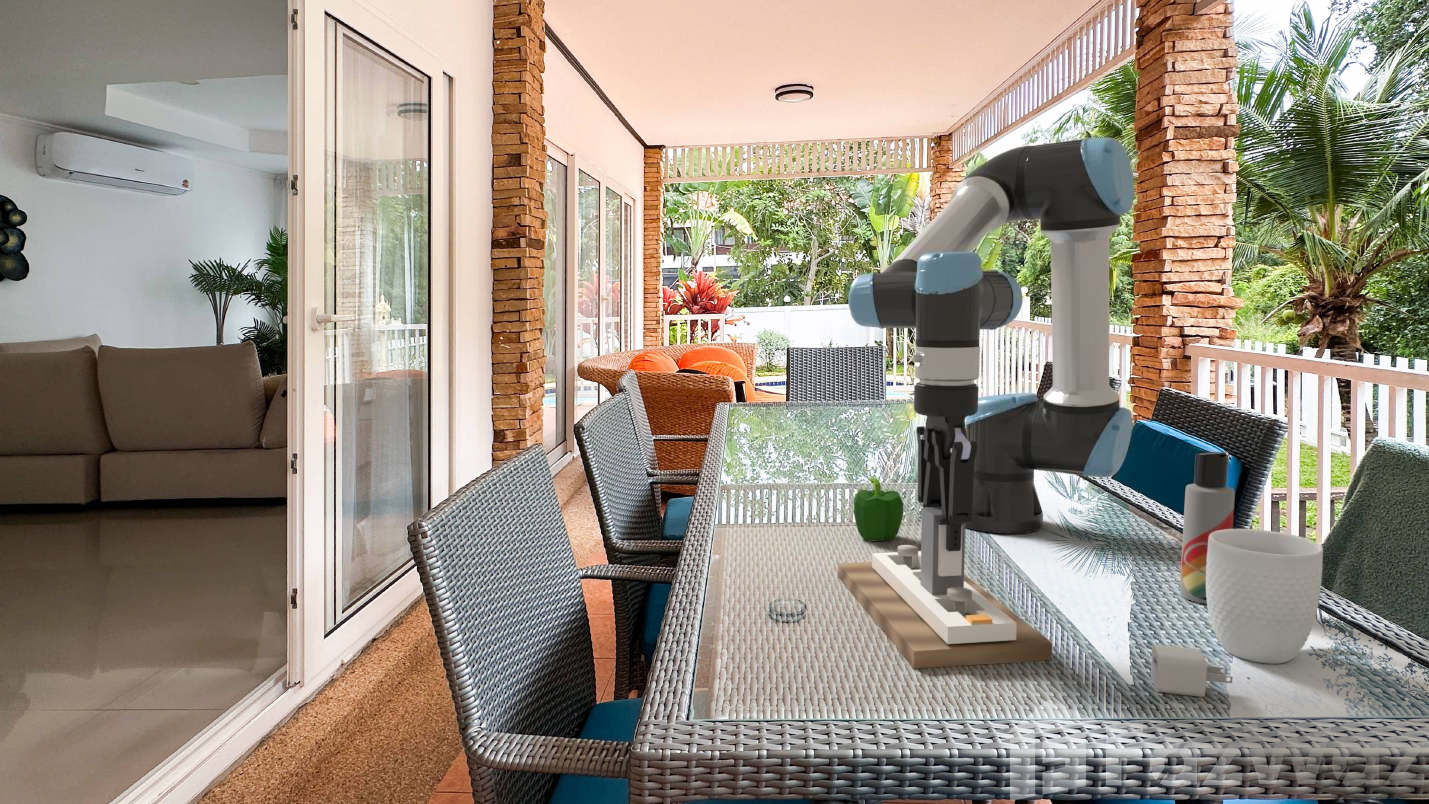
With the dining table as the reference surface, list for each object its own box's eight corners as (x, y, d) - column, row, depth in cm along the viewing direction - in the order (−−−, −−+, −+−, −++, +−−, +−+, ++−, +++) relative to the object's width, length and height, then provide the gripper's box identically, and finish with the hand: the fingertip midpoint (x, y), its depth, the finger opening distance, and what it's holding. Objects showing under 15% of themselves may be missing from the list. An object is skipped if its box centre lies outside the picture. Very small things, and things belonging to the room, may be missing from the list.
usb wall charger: (1150, 677, 93) (1152, 642, 93) (1223, 686, 91) (1226, 649, 91) (1157, 694, 89) (1159, 656, 89) (1233, 703, 87) (1236, 664, 87)
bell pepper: (903, 546, 143) (904, 486, 142) (852, 543, 144) (852, 484, 143) (902, 532, 151) (903, 475, 150) (854, 530, 153) (854, 474, 151)
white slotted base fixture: (871, 566, 124) (872, 484, 123) (926, 564, 125) (927, 482, 124) (947, 644, 97) (949, 538, 95) (1016, 639, 98) (1019, 535, 96)
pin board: (837, 576, 128) (838, 536, 127) (943, 571, 129) (944, 532, 129) (913, 668, 96) (914, 615, 95) (1051, 659, 98) (1053, 608, 97)
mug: (1260, 622, 108) (1267, 519, 107) (1357, 654, 99) (1367, 542, 97) (1180, 644, 102) (1186, 535, 100) (1275, 681, 92) (1284, 560, 91)
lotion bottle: (1210, 608, 113) (1219, 456, 111) (1170, 595, 118) (1178, 449, 116) (1237, 600, 116) (1247, 452, 114) (1196, 588, 121) (1205, 446, 119)
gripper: (893, 375, 114) (890, 550, 116) (943, 389, 97) (938, 593, 100) (948, 374, 115) (944, 548, 117) (1007, 388, 98) (1001, 590, 101)
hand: (942, 568), depth 109 cm, fingers closed on white slotted base fixture, 4 cm apart
